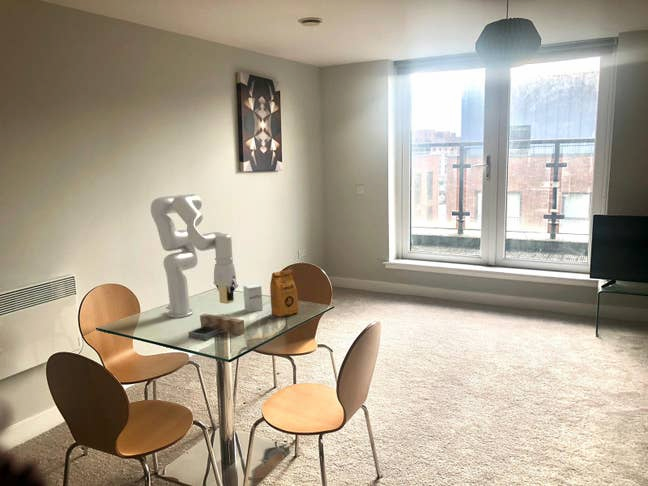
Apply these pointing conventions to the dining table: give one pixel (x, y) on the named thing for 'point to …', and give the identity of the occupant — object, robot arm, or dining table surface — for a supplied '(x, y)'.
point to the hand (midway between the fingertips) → (226, 299)
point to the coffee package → (283, 294)
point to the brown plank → (223, 323)
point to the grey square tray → (204, 333)
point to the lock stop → (224, 295)
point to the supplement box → (253, 297)
